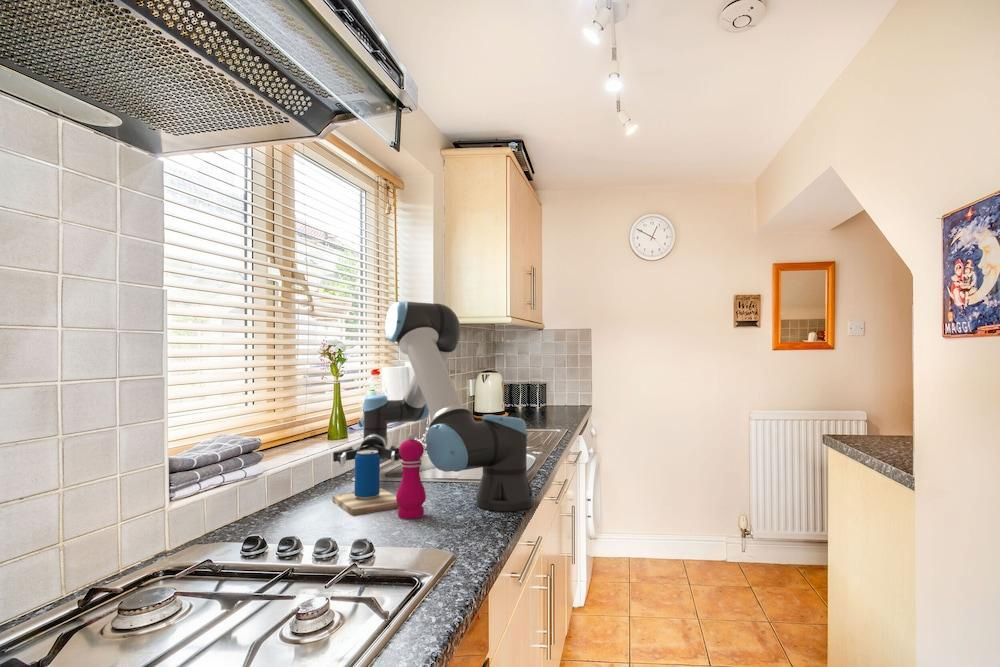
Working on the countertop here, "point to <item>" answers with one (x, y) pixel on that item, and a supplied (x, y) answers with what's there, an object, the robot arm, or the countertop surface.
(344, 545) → the countertop surface
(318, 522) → the countertop surface
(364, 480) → the beverage can
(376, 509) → the wooden cutting board
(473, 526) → the countertop surface
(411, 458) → the pepper mill
